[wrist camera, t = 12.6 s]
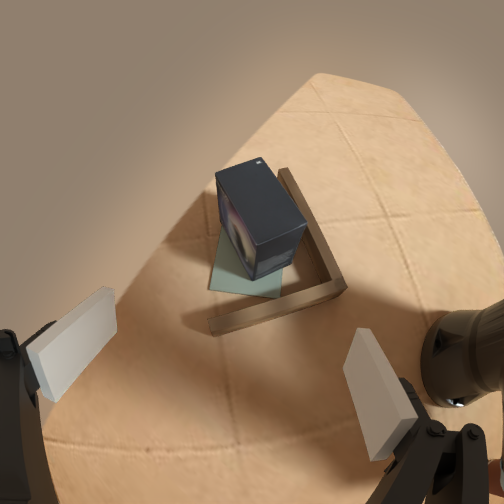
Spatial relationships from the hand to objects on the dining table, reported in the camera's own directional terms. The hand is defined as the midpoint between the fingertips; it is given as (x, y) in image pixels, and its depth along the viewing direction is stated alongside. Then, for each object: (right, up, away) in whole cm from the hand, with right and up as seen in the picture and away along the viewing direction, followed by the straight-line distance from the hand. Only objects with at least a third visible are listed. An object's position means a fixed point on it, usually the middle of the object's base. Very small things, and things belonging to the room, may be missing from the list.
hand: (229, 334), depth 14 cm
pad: (+1, +5, +25) cm, 25 cm away
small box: (+1, +6, +25) cm, 26 cm away
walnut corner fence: (+1, +5, +25) cm, 25 cm away
